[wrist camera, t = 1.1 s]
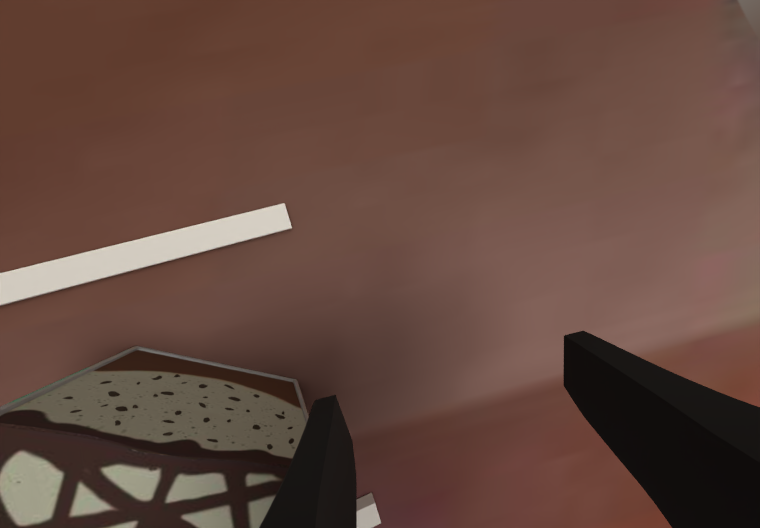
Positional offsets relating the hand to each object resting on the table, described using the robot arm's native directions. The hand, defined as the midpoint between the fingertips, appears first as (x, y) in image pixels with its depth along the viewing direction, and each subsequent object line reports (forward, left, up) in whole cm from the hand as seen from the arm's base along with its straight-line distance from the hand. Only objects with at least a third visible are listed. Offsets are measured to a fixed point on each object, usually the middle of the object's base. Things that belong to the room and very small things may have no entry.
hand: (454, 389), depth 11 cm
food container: (-3, +11, -13) cm, 17 cm away
